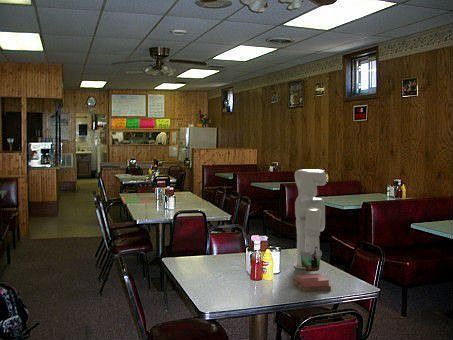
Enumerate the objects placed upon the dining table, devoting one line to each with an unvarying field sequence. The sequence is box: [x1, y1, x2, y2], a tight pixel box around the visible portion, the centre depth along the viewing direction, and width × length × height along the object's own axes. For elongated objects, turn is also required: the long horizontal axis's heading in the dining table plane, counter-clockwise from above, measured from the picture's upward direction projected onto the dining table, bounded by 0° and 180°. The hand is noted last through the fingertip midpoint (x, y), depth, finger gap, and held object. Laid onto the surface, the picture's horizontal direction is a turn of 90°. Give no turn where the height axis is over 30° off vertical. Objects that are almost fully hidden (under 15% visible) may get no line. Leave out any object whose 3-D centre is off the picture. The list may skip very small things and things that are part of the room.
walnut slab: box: [293, 278, 332, 293], centre depth 258 cm, size 15×15×3 cm
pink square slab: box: [295, 272, 330, 287], centre depth 258 cm, size 13×13×3 cm
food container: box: [300, 249, 323, 272], centre depth 257 cm, size 12×6×10 cm, turn 105°
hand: (312, 265), depth 257 cm, fingers closed on food container, 5 cm apart
